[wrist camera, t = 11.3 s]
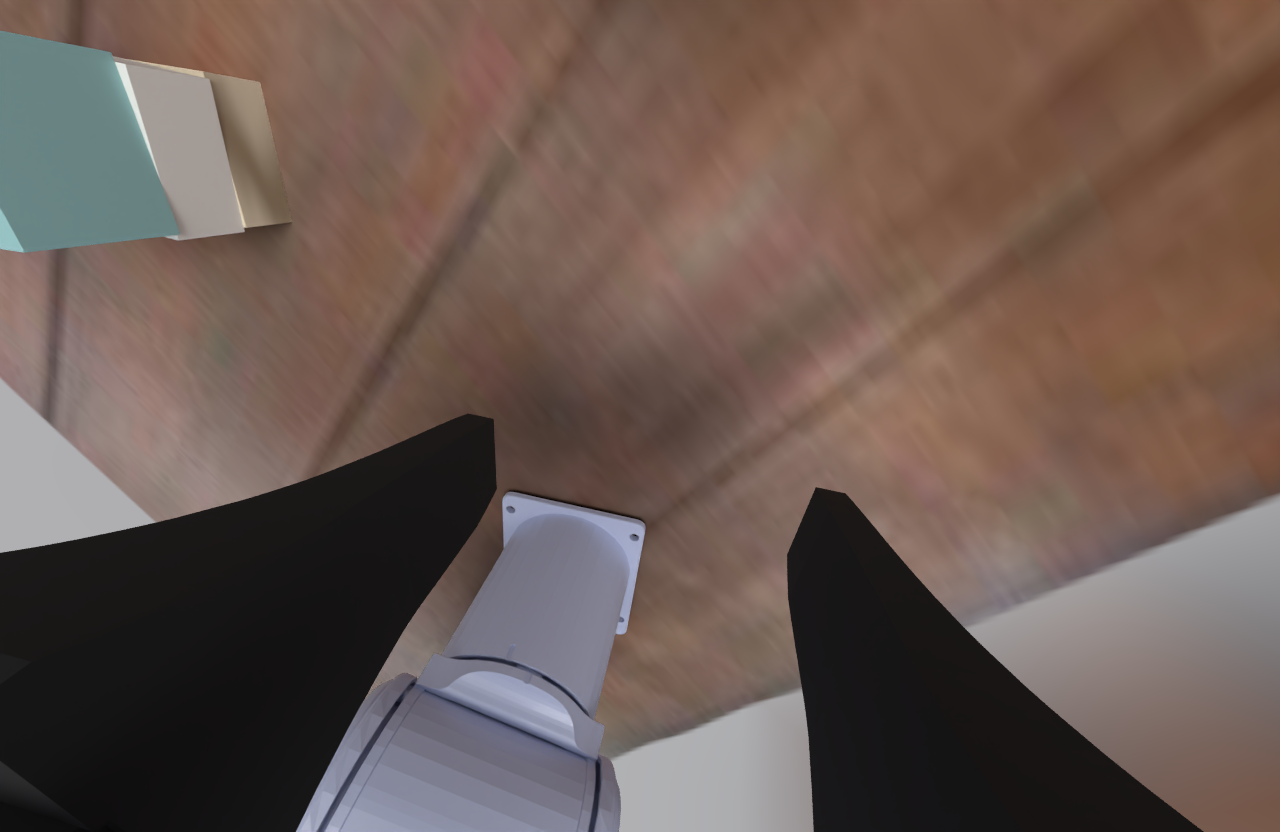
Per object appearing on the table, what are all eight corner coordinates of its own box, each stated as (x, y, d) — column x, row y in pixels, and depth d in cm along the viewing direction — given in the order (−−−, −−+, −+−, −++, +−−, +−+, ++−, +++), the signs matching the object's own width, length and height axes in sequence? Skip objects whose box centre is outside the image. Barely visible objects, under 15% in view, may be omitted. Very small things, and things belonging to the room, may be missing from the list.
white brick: (244, 231, 18) (178, 240, 16) (129, 203, 18) (48, 207, 16) (209, 78, 15) (124, 64, 13) (76, 47, 16) (-29, 27, 13)
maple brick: (298, 221, 20) (246, 227, 18) (197, 202, 20) (134, 206, 18) (268, 83, 17) (202, 71, 15) (153, 65, 18) (74, 50, 16)
